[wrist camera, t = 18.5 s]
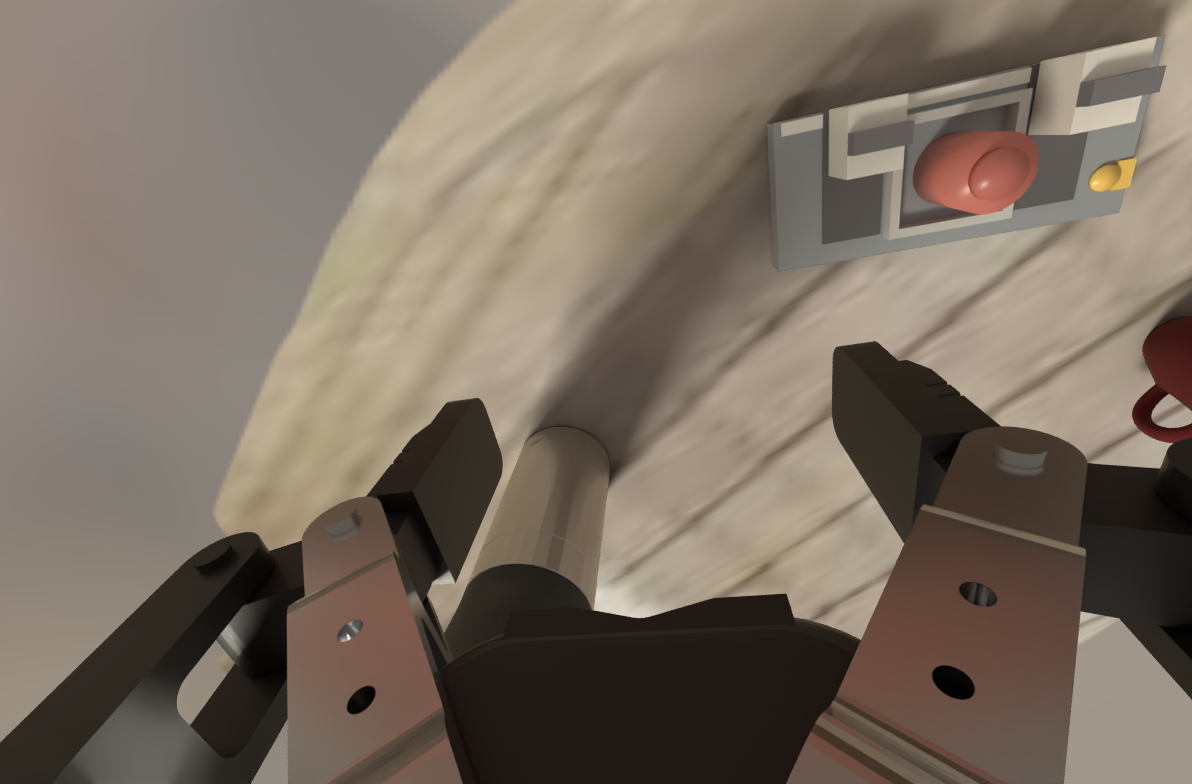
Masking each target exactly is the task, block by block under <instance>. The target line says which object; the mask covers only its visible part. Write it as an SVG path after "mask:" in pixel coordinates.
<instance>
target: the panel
mask: <svg viewBox="0 0 1192 784" xmlns="http://www.w3.org/2000/svg"><path fill="white" fill-rule="evenodd" d="M1164 38H1165V35H1163V36H1158V37H1157V38H1156V42H1155V46H1154V50H1153V54H1152V58H1151V62H1150V66H1149V68H1151V67H1157V65H1158V61H1159V57H1160V53H1161V50H1162V46H1163V42H1164ZM1039 68H1040V63H1035V64H1031V65H1026V66H1022V67H1017V68H1013V69H1009V70H1004V71H1000V72H995V73H991V74H987V75H982V76H978V77H973V78H969V79H964V80H960V81H956V82H951V83H947V84H942V85H938V86H934V87H929V88H925V89H920V90H916V91H911V92H907V93H908V106H907V120H906V121H912V120H915V123H914V137H913V144H909V145H905V150H904V164H903V169H900V170H895V171H890V172H885V173H880V174H875V175H870V176H865V177H860V178H855V179H850V180H844V179H840V178H835V177H831V176H828V173H829V110H827V111H823V112H819V113H814V114H810V115H805V116H801V117H797V118H792V119H788V120H783V121H779V122H774V123H770V124H767V142H768V165H769V188H770V211H771V233H772V256H773V266H774V267H775V268H776V269H777V270H778V272H781V271H787V270H793V269H798V268H804V267H810V266H816V265H821V264H827V263H833V262H839V261H845V260H850V259H856V258H862V257H868V256H873V255H879V254H885V253H891V252H896V251H902V250H908V249H914V248H919V247H925V246H931V245H937V244H942V243H948V242H954V241H960V240H966V239H971V238H977V237H983V236H989V235H994V234H1000V233H1006V232H1012V231H1017V230H1023V229H1029V228H1035V227H1040V226H1046V225H1052V224H1058V223H1063V222H1069V221H1075V220H1081V219H1087V218H1092V217H1098V216H1104V215H1110V214H1115V213H1119V211H1120V207H1121V204H1122V200H1123V196H1124V192H1125V188H1130V184H1131V180H1132V176H1133V172H1134V169H1135V165H1136V161H1137V158H1133V157H1134V153H1135V150H1136V146H1137V142H1138V138H1139V134H1140V130H1141V127H1142V123H1143V119H1144V115H1145V111H1146V107H1147V103H1148V100H1149V96H1150V94H1147V95H1142V97H1141V101H1140V105H1139V109H1138V113H1137V117H1136V121H1135V122H1132V123H1127V124H1122V125H1117V126H1112V127H1107V128H1102V129H1097V130H1092V131H1087V132H1082V133H1077V134H1072V135H1028V133H1029V127H1030V121H1031V115H1032V109H1033V103H1034V97H1035V91H1036V85H1037V79H1038V74H1039ZM907 93H903V94H907ZM898 95H901V94H898ZM894 96H895V95H894ZM966 131H1016V132H1020V133H1023V134H1025V135H1027V136H1028V137H1030V138H1031V139H1032V140H1033V141H1034V143H1035V144H1036V146H1037V149H1038V153H1039V165H1038V170H1037V173H1036V175H1035V178H1034V180H1033V182H1032V183H1031V185H1030V186H1029V188H1028V189H1027V190H1026V192H1025V193H1024V194H1023V195H1022V196H1021V197H1020V198H1019V199H1018V200H1017V201H1015V202H1014V203H1013V204H1011V205H1010V206H1008V207H1006V208H1004V209H1002V210H1000V211H997V212H994V213H990V214H974V213H970V212H966V211H962V210H958V209H953V208H949V207H945V206H941V205H937V204H933V203H929V202H927V201H925V200H923V199H922V198H920V197H919V196H918V194H917V193H916V191H915V189H914V186H913V170H914V167H915V164H916V162H917V160H918V158H919V156H920V155H921V153H922V152H923V151H924V149H925V148H926V147H927V146H928V145H929V144H930V143H932V142H933V141H934V140H936V139H937V138H939V137H941V136H943V135H945V134H948V133H952V132H966Z"/></svg>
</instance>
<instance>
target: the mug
mask: <svg viewBox="0 0 1192 784" xmlns="http://www.w3.org/2000/svg"><path fill="white" fill-rule="evenodd" d="M1143 356H1144V359H1145V361H1146V363H1147V366H1148V368H1149V370H1150V372H1151V374H1152V377H1153V379H1154V381H1155V383H1156V384H1155V385H1154V386H1153V387H1152V388H1150V389H1149V390H1148V391H1147V392H1146V393H1145V394H1144V395H1142V396H1141V398H1140V399H1139V400H1138V401H1137V402H1136V404H1135V406H1134V408H1133V411H1132V417H1133V421H1134V423H1135V425H1136V426H1137V427H1138V428H1139V429H1140V430H1141V431H1142V432H1143V433H1144V434H1146V435H1148V436H1149V437H1151V438H1154V439H1156V440H1159V441H1163V442H1167V443H1176V442H1178V441H1180V440H1184V439H1189V438H1192V423H1191V424H1189V425H1187V426H1184V427H1179V428H1166V427H1161V426H1159V425H1156V424H1155V423H1154V422H1153V421H1152V418H1151V414H1152V411H1153V409H1154V408H1155V406H1156V405H1157V404H1158V403H1159V402H1160V401H1161V400H1162V399H1163V398H1164V397H1165V396H1166V395H1168V394H1171V395H1172V396H1173V397H1175V398H1176V399H1177V400H1179V401H1180V402H1181V403H1183V404H1184V405H1185V406H1186V407H1188V408H1189V409H1190V410H1191V411H1192V316H1186V317H1180V318H1176V319H1173V320H1170V321H1168V322H1165V323H1164V324H1162V325H1160V326H1159V327H1157V328H1156V329H1155V330H1154V331H1153V332H1152V333H1151V334H1150V335H1149V336H1148V337H1147V339H1146V340H1145V342H1144V345H1143Z"/></svg>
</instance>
